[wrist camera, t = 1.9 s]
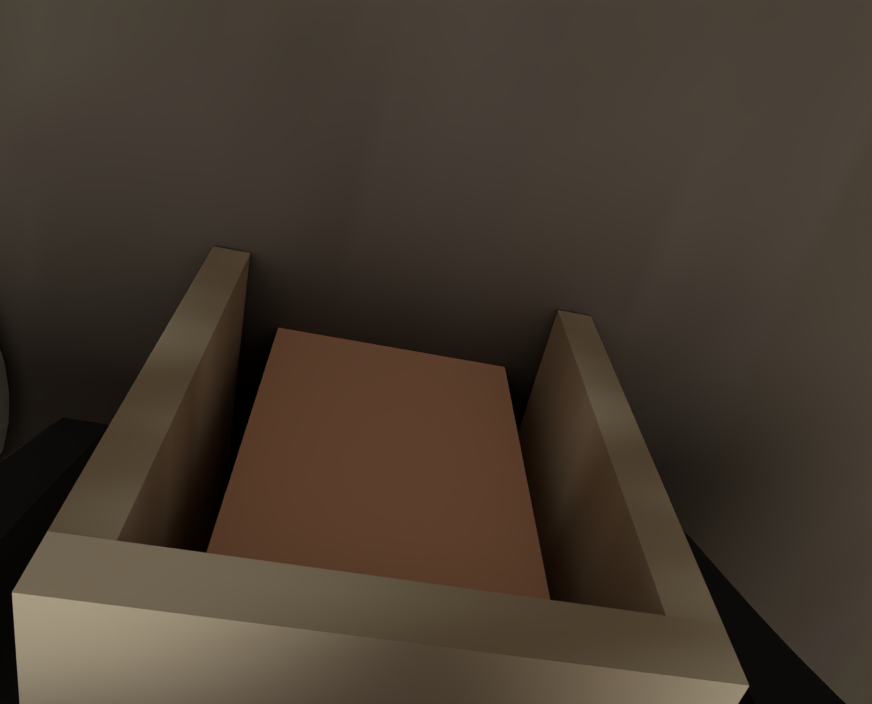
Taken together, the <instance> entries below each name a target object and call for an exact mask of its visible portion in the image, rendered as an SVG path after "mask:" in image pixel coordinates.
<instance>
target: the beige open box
mask: <svg viewBox="0 0 872 704" xmlns="http://www.w3.org/2000/svg"><path fill="white" fill-rule="evenodd" d="M249 261H250V253H248V252H242V251H237V250H231V249H226V248H221V247H215V246H213V248H212V249H211V251H210V253H209V255H208V256H207V258H206V260H205V261H204V263H203V265H202V267H201V268H200V270H199V272H198V273H197V275H196V277H195V279H194V280H193V282H192V284H191V285H190V287H189V289H188V291H187V292H186V294H185V296H184V298H183V299H182V301H181V303H180V304H179V306H178V308H177V310H176V311H175V313H174V315H173V316H172V318H171V320H170V322H169V323H168V325H167V327H166V328H165V330H164V332H163V334H162V335H161V337H160V339H159V340H158V342H157V344H156V346H155V347H154V349H153V351H152V353H151V354H150V356H149V358H148V359H147V361H146V363H145V365H144V366H143V368H142V370H141V371H140V373H139V375H138V377H137V378H136V380H135V382H134V383H133V385H132V387H131V389H130V390H129V392H128V394H127V395H126V397H125V399H124V401H123V402H122V404H121V406H120V407H119V409H118V411H117V413H116V414H115V416H114V418H113V420H112V421H111V423H110V425H109V426H108V428H107V430H106V432H105V433H104V435H103V437H102V438H101V440H100V442H99V444H98V445H97V447H96V449H95V450H94V452H93V454H92V456H91V457H90V459H89V461H88V462H87V464H86V466H85V468H84V469H83V471H82V473H81V475H80V476H79V478H78V480H77V481H76V483H75V485H74V487H73V488H72V490H71V492H70V493H69V495H68V497H67V499H66V500H65V502H64V504H63V505H62V507H61V509H60V511H59V512H58V514H57V516H56V517H55V519H54V521H53V523H52V524H51V526H50V528H49V529H48V531H47V533H46V535H45V536H44V538H43V540H42V542H41V543H40V545H39V547H38V548H37V550H36V552H35V554H34V555H33V557H32V559H31V560H30V562H29V564H28V566H27V567H26V569H25V571H24V572H23V574H22V576H21V578H20V579H19V581H18V583H17V584H16V586H15V588H14V590H13V591H12V602H13V616H14V631H15V645H16V660H17V674H18V688H19V703H20V704H738V703H739V702H740V700H741V698H742V697H743V695H744V694H745V692H746V690H747V689H748V687H749V684H748V681H747V679H746V677H745V674H744V672H743V670H742V667H741V665H740V663H739V660H738V658H737V656H736V653H735V651H734V649H733V646H732V644H731V642H730V639H729V637H728V635H727V632H726V630H725V628H724V625H723V623H722V621H721V618H720V616H719V614H718V611H717V609H716V607H715V604H714V602H713V600H712V597H711V595H710V593H709V590H708V588H707V586H706V583H705V581H704V579H703V576H702V574H701V572H700V569H699V567H698V565H697V562H696V560H695V558H694V555H693V553H692V551H691V548H690V546H689V544H688V541H687V539H686V537H685V534H684V532H683V530H682V527H681V525H680V523H679V520H678V518H677V516H676V513H675V511H674V509H673V506H672V504H671V502H670V499H669V497H668V495H667V492H666V490H665V488H664V485H663V483H662V481H661V478H660V476H659V474H658V471H657V469H656V467H655V464H654V462H653V460H652V457H651V455H650V453H649V450H648V448H647V446H646V443H645V441H644V439H643V436H642V434H641V432H640V429H639V427H638V425H637V422H636V420H635V418H634V415H633V413H632V411H631V408H630V406H629V404H628V401H627V399H626V397H625V394H624V392H623V390H622V387H621V385H620V383H619V380H618V378H617V376H616V374H615V371H614V369H613V367H612V364H611V362H610V360H609V357H608V355H607V353H606V350H605V348H604V346H603V343H602V341H601V339H600V336H599V334H598V332H597V329H596V327H595V325H594V322H593V320H592V318H591V316H588V315H583V314H577V313H572V312H567V311H561V310H558V311H557V314H556V317H555V320H554V323H553V326H552V329H551V332H550V335H549V338H548V342H547V345H546V348H545V351H544V354H543V357H542V360H541V363H540V366H539V369H538V372H537V375H536V379H535V382H534V385H533V388H532V391H531V394H530V397H529V400H528V403H527V406H526V409H525V412H524V416H523V419H522V422H521V425H520V428H519V431H518V437H519V442H520V447H521V452H522V458H523V463H524V468H525V473H526V478H527V483H528V488H529V493H530V498H531V504H532V509H533V514H534V519H535V524H536V529H537V534H538V539H539V544H540V549H541V555H542V560H543V565H544V570H545V575H546V580H547V585H548V590H549V595H550V600H548V599H541V598H533V597H526V596H519V595H511V594H504V593H497V592H489V591H482V590H475V589H467V588H460V587H453V586H445V585H438V584H431V583H423V582H416V581H409V580H401V579H394V578H387V577H379V576H372V575H365V574H357V573H350V572H343V571H335V570H328V569H321V568H313V567H306V566H299V565H292V564H284V563H277V562H270V561H262V560H255V559H248V558H240V557H233V556H226V555H218V554H211V553H206V552H207V549H208V546H209V543H210V540H211V537H212V534H213V530H214V527H215V524H216V521H217V518H218V515H219V512H220V509H221V505H222V502H223V499H224V496H225V487H226V478H227V468H228V459H229V449H230V440H231V430H232V421H233V412H234V402H235V393H236V383H237V374H238V364H239V355H240V346H241V336H242V327H243V317H244V308H245V299H246V289H247V280H248V270H249Z"/></svg>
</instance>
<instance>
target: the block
mask: <svg viewBox="0 0 872 704" xmlns="http://www.w3.org/2000/svg"><path fill="white" fill-rule="evenodd" d="M206 553H211V554H218V555H226V556H233V557H240V558H248V559H255V560H262V561H270V562H277V563H284V564H292V565H299V566H306V567H313V568H321V569H328V570H335V571H343V572H350V573H357V574H365V575H372V576H379V577H387V578H394V579H401V580H409V581H416V582H423V583H431V584H438V585H445V586H453V587H460V588H467V589H475V590H482V591H489V592H497V593H504V594H511V595H519V596H526V597H533V598H541V599H548V600H550V595H549V590H548V585H547V580H546V575H545V570H544V565H543V560H542V555H541V549H540V544H539V539H538V534H537V529H536V524H535V519H534V514H533V509H532V504H531V498H530V493H529V488H528V483H527V478H526V473H525V468H524V463H523V458H522V452H521V447H520V442H519V437H518V432H517V427H516V422H515V417H514V412H513V407H512V401H511V396H510V391H509V386H508V381H507V376H506V371H505V367H502V366H496V365H491V364H485V363H479V362H473V361H468V360H462V359H456V358H450V357H445V356H439V355H433V354H427V353H422V352H416V351H410V350H404V349H399V348H393V347H387V346H381V345H376V344H370V343H364V342H358V341H353V340H347V339H341V338H335V337H330V336H324V335H318V334H312V333H307V332H301V331H295V330H289V329H284V328H278V330H277V333H276V336H275V339H274V342H273V345H272V349H271V352H270V355H269V358H268V361H267V364H266V367H265V371H264V374H263V377H262V380H261V383H260V386H259V389H258V392H257V396H256V399H255V402H254V405H253V408H252V411H251V414H250V418H249V421H248V424H247V427H246V430H245V433H244V436H243V440H242V443H241V446H240V449H239V452H238V455H237V458H236V461H235V465H234V468H233V471H232V474H231V477H230V480H229V483H228V487H227V490H226V493H225V496H224V499H223V502H222V505H221V509H220V512H219V515H218V518H217V521H216V524H215V527H214V530H213V534H212V537H211V540H210V543H209V546H208V549H207V552H206Z"/></svg>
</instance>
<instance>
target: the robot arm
mask: <svg viewBox="0 0 872 704" xmlns="http://www.w3.org/2000/svg"><path fill="white" fill-rule="evenodd" d="M108 426H109V425H106V424H100V423H93V422H87V421H80V420H74V419H67V418H61V419H59V420H58V421H56V422H55V423H53V424H52V425H50V426H49V427H47V428H46V429H44V430H43V431H41V432H40V433H39V434H37V435H36V436H34V437H33V438H32V439H30V440H29V441H27V442H26V443H25V444H23V445H22V446H20V447H19V448H18V449H16V450H15V451H14V452H12V453H11V454H9V455H8V456H7V457H5V458H4V459H2V460H1V461H0V704H20V703H19V688H18V674H17V660H16V645H15V631H14V616H13V602H12V591H13V590H14V588H15V586H16V584H17V583H18V581H19V579H20V578H21V576H22V574H23V572H24V571H25V569H26V567H27V566H28V564H29V562H30V560H31V559H32V557H33V555H34V554H35V552H36V550H37V548H38V547H39V545H40V543H41V542H42V540H43V538H44V536H45V535H46V533H47V531H48V529H49V528H50V526H51V524H52V523H53V521H54V519H55V517H56V516H57V514H58V512H59V511H60V509H61V507H62V505H63V504H64V502H65V500H66V499H67V497H68V495H69V493H70V492H71V490H72V488H73V487H74V485H75V483H76V481H77V480H78V478H79V476H80V475H81V473H82V471H83V469H84V468H85V466H86V464H87V462H88V461H89V459H90V457H91V456H92V454H93V452H94V450H95V449H96V447H97V445H98V444H99V442H100V440H101V438H102V437H103V435H104V433H105V432H106V430H107V428H108ZM682 530H683V529H682ZM683 532H684V534H685V537H686V539H687V541H688V544H689V546H690V548H691V551H692V553H693V555H694V558H695V560H696V562H697V565H698V567H699V569H700V572H701V574H702V576H703V579H704V581H705V583H706V586H707V588H708V590H709V593H710V595H711V597H712V600H713V602H714V604H715V607H716V609H717V611H718V614H719V616H720V618H721V621H722V623H723V625H724V628H725V630H726V632H727V635H728V637H729V639H730V642H731V644H732V646H733V649H734V651H735V653H736V656H737V658H738V660H739V663H740V665H741V667H742V670H743V672H744V674H745V677H746V679H747V681H748V684H749V687H748V689H747V690H746V692H745V694H744V695H743V697H742V698H741V700H740V702H739V703H738V704H846V703H845V702H843V701H842V700H841V699H840V698H839V697H838V696H837V695H836V694H835V693H834V692H833V691H832V690H831V689H830V688H829V687H828V686H827V685H826V684H825V683H824V682H823V681H822V680H821V679H820V678H819V677H818V676H817V675H816V674H815V673H814V672H813V671H812V670H811V669H810V668H809V667H808V666H807V665H806V664H805V663H804V662H803V661H802V660H801V659H800V658H799V657H798V656H797V655H796V654H795V653H794V652H793V651H792V650H791V649H790V648H789V647H788V645H787V644H786V643H785V642H784V641H783V640H782V639H781V638H780V637H779V636H778V635H777V634H776V633H775V632H774V631H773V630H772V629H771V627H770V626H769V625H768V624H767V623H766V622H765V621H764V620H763V619H762V618H761V617H760V616H759V614H758V613H757V612H756V611H755V610H754V609H753V608H752V607H751V606H750V605H749V603H748V602H747V601H746V600H745V599H744V598H743V597H742V596H741V595H740V593H739V592H738V591H737V590H736V589H735V588H734V587H733V586H732V584H731V583H730V582H729V581H728V580H727V579H726V578H725V577H724V575H723V574H722V573H721V572H720V571H719V570H718V569H717V567H716V566H715V565H714V564H713V563H712V562H711V561H710V560H709V558H708V557H707V556H706V555H705V554H704V553H703V552H702V550H701V549H700V548H699V547H698V546H697V545H696V544H695V543H694V541H693V540H692V539H691V538H690V537H689V536H688V535H687V534H686V532H685V531H684V530H683Z"/></svg>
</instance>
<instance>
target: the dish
mask: <svg viewBox="0 0 872 704" xmlns="http://www.w3.org/2000/svg"><path fill="white" fill-rule="evenodd" d="M8 424H9V389H8V382H7V374H6V367H5V363H4V359H3V356H2V353H1V349H0V456H1V453H2V451H3V448H4V443H5V439H6V434H7V429H8Z"/></svg>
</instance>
